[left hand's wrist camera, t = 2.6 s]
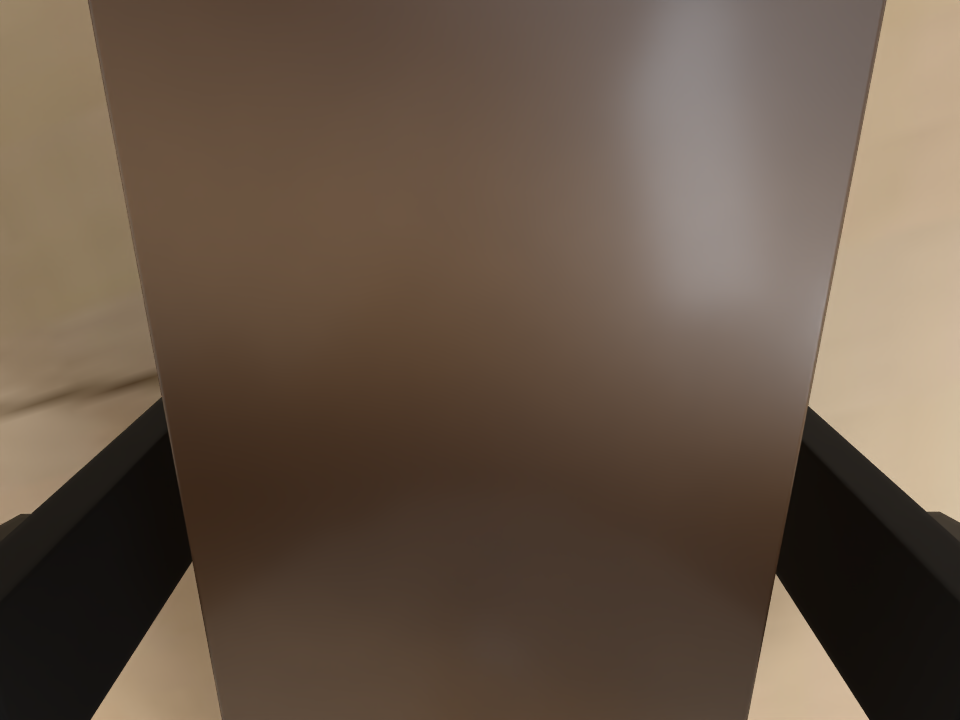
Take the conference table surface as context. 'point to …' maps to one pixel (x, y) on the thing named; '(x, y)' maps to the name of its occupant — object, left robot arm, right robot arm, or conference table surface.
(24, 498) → the conference table surface
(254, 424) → the beam
